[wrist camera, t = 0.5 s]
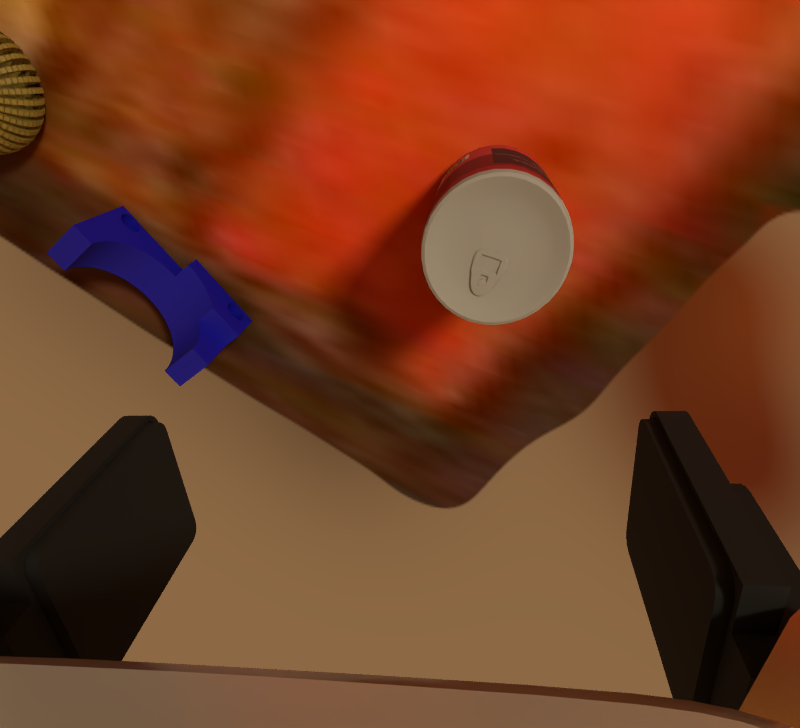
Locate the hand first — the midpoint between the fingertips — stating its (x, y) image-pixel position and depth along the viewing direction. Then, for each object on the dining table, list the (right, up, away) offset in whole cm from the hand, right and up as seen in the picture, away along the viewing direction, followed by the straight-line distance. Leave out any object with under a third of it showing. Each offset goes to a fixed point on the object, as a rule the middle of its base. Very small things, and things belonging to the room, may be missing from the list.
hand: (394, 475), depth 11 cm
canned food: (+6, +13, +28) cm, 31 cm away
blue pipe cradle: (-17, +9, +33) cm, 38 cm away
